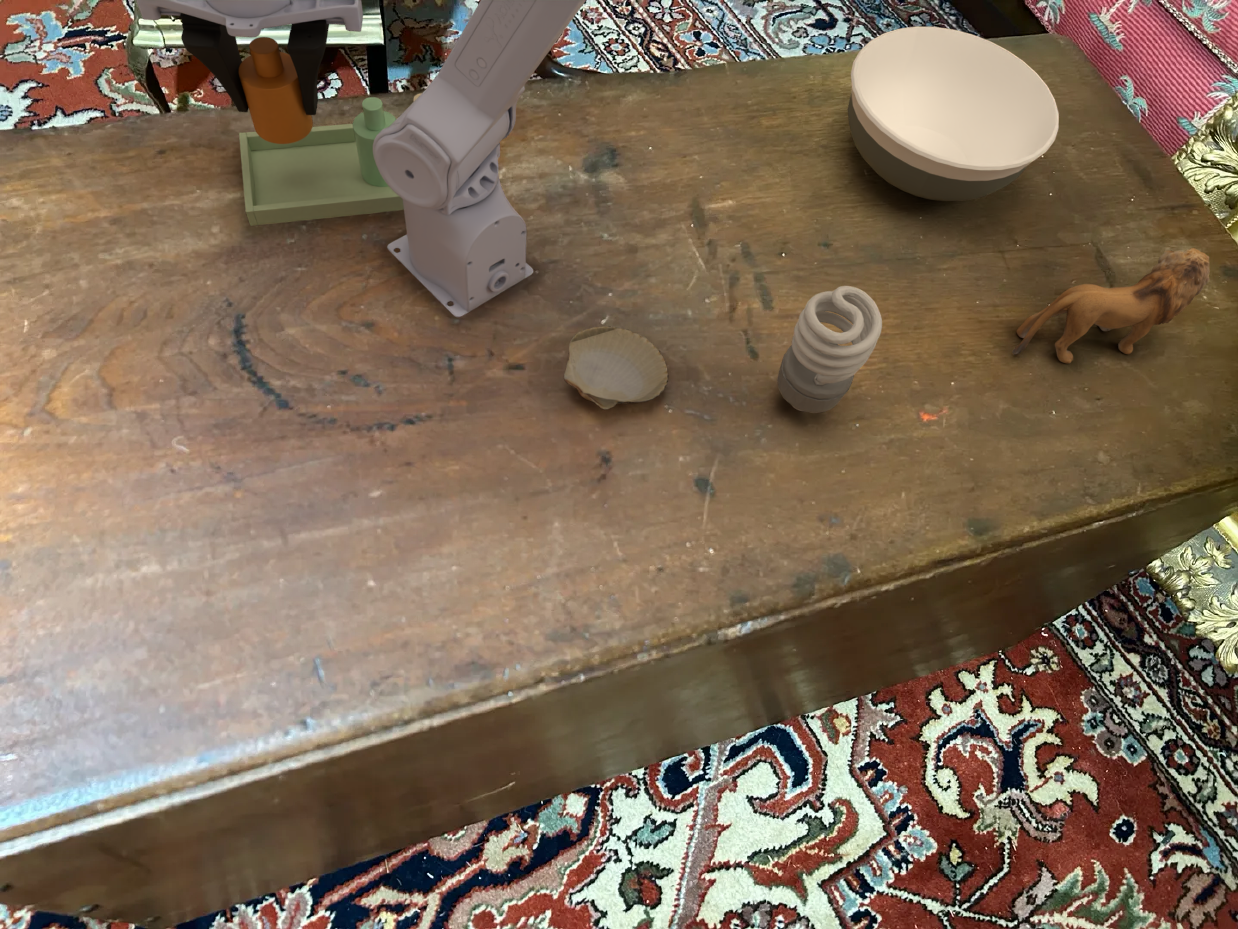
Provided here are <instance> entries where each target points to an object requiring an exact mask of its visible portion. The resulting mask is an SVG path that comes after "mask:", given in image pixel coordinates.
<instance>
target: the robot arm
mask: <svg viewBox="0 0 1238 929" xmlns="http://www.w3.org/2000/svg"><path fill="white" fill-rule="evenodd" d="M135 1H136V4H137V6H138V7H137V8H138V10H139V13H140V15H141V18H142V20H145V21H159V20H160V19H161V17H162V16H176V17H177V16H179V18H180V20H181V27H182V33H181V36H180V39H181V42H182V44H183V47H184V49H185V50H186V51H187V52H188V53H189V54H190V55H192V56H194V58H196V59H197V60H198V61H199V62H201V64H202V65H204V67H206V68H207V69H208V71H210V73H212V75H213V77H215V79H216V80H217V81H218V82H219V84H220V85H221V86H222V88H223V89H224V91H225V92H226V93H227V95H228V96H229V98H230V99H231V101H232V103H233V104H234V106H235V108H236V110H237V111H238V112H239V113H248V112H249V107H248V104H247V101H246V97H245V94H244V90H243V87H242V83H241V80H240V77H239V67H240V64H241V63H242V62H243V59H242V57H241V54H240V50H239V47H238V41H237V38H258V37H260V34H261V33H262V32H261V31H262V30H264V29H269V28H275V27H281V26H288V25H291V26H290V30H289V34H288V40H287V46H286V48H287V54H289V55H290V57H291V59H292V62H293V64H294V67H295V70H296V73H297V76H298V79H299V83H300V88H301V94H302V101H303V106H304V110H305V113H306V115H311V116H315V115H317V110H318V103H319V95H318V94H319V93H318V92H319V90H318V73H319V70H320V65H321V64H322V61H323V59H324V55H325V52H326V47H327V41H328V37H329V36H328V35H329V28H330V25H337V26H344V29H345V30H346V31H347V32H356V33H358V32H359V33H361V32H362V28H363V19H364V12H363V4H362V0H135ZM586 1H587V0H480V1H479V3H478V4H477V6H476V8H475V9H474V11H473V13H472V14H471V17H470V18H469V20H468V22H467V23H466V25H465V27H464V28H463V30H462V32H461V33H460V35H459V37H458V39H457V40H456V42H455V44H454V45H453V48H451V49H452V50H451V51H450V52H449V54H448V56H447V57H446V60H445V61H444V63H443V65H442V66H441V68H440V70H439V71H438V73H437V75H436V76H435V77H434V79H433V80H432V81H431V82H430V83H429V85H428V86H427V87H426V89H424V91H422V92H421V93H422V94H421V95H420V96H419V97H418V98H417V99H416V100H415V101H414V102H411V104H410V105H409V106H407V108H406V109H405V110H403V112H402V113H400V115H399V116H398V117H397V118H396V120H395V121H394V122H393V123H392V124H391V125H390V126H389V127H387V128H384V129H383V130H382V131H381V132H380V133H379V134H378V135H377V136H376V138H375V140H374V142H373V156H374V160H375V163H376V165H377V167H378V170H379V172H380V174H381V176H382V177H383V179H384V180H385V182H386V183H387V184H388V186H389V187H390V188H391V189H392V190H393V191H394V192H395V193H396V194H397V195H399V196H400V197H401V198H402V199H403V207H404V210H403V213H404V221H405V228H406V234H405V235H403V236H401V237H399V238H396V239H395V240H393V241H391V242H389V243H388V244H387V246H386V248H387V250H388V251H389V252H390V253H391V254H392V255H393V256H394V257H395V258H396V259H397V260H398V262H400V263H401V264H402V265H403V267H405V268H406V270H408V271H409V272H410V274H412V276H414V277H415V278H416V279H417V281H419V283H421V284H422V285H423V286H424V287H425V289H427V291H429V292H430V294H431V295H433V296H434V298H435V299H436V300H438V302H440V304H441V305H442V306H444V307H445V308H446V310H448V311H449V312H450V314H452V315H453V317H456V318H461V317H463V316H466V314H468V313H469V312H472V311H473V310H475V309H476V308H478V307H479V306H482V305H484V304H485V303H487V302H488V301H490V300H492V299H493V298H495V297H497V296H498V295H500V294H501V293H503V292H505V291H506V290H508V289H510V288H511V287H513V286H515V285H516V284H518V283H520V282H522V281H523V280H525V279H526V278H528V277H530V276H531V275H532V274H534V268H533V267H532V266H531V265H530V264H528V263H527V237H528V236H527V235H528V234H527V231H528V230H527V224H526V222H525V220H524V218H523V217H522V216H521V215H520V214H519V213H518V211H517V210H516V209H515V208H514V206H512V204H511V202H510V201H509V199H508V198H507V196H506V194H505V191H504V189H503V187H502V184H501V179H500V175H499V158H501V143H500V142H501V141H503V140H504V139H507V137H508V136H509V135H510V134H511V133H512V132H513V130H514V127H515V124H516V120H517V105H518V101H519V99H520V97H521V96H522V95H523V93H524V91H526V88H525V85H526V84H527V82H528V81H529V80H530V78H531V77H532V76H533V74H534V73H535V71H536V70H537V68H538V67H539V66H540V65H541V63H542V62H543V60H544V59H545V58H546V56H547V55H548V54H549V52H550V51H551V50H552V48H553V46H554V45H555V44H556V43H557V41H558V40H559V39H560V37H561V36H562V35H563V33H564V31H565V30H566V28H567V27H568V26H569V25H570V23H571V22H572V20H573V19H574V18H575V16H576V15H577V13H578V12H579V11H580V10H581V8H582V7H583V6H584V4H585V3H586ZM396 249H398V250H399V252H396V251H395V250H396ZM450 302H452V303H453V305H448V303H450Z"/></svg>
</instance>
